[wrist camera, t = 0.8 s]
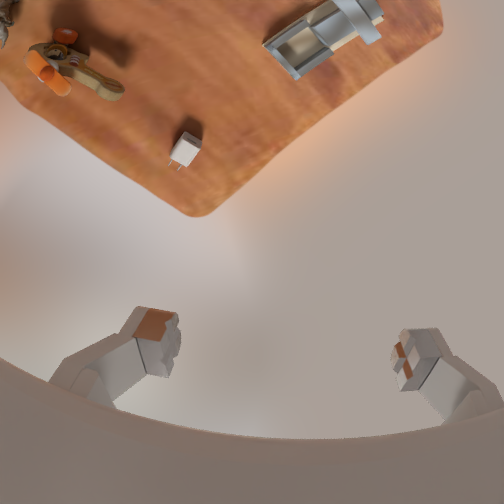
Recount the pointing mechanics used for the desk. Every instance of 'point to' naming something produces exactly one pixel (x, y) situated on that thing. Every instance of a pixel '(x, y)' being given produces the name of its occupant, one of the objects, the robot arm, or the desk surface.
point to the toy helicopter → (68, 67)
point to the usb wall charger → (185, 149)
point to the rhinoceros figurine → (5, 19)
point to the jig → (324, 33)
